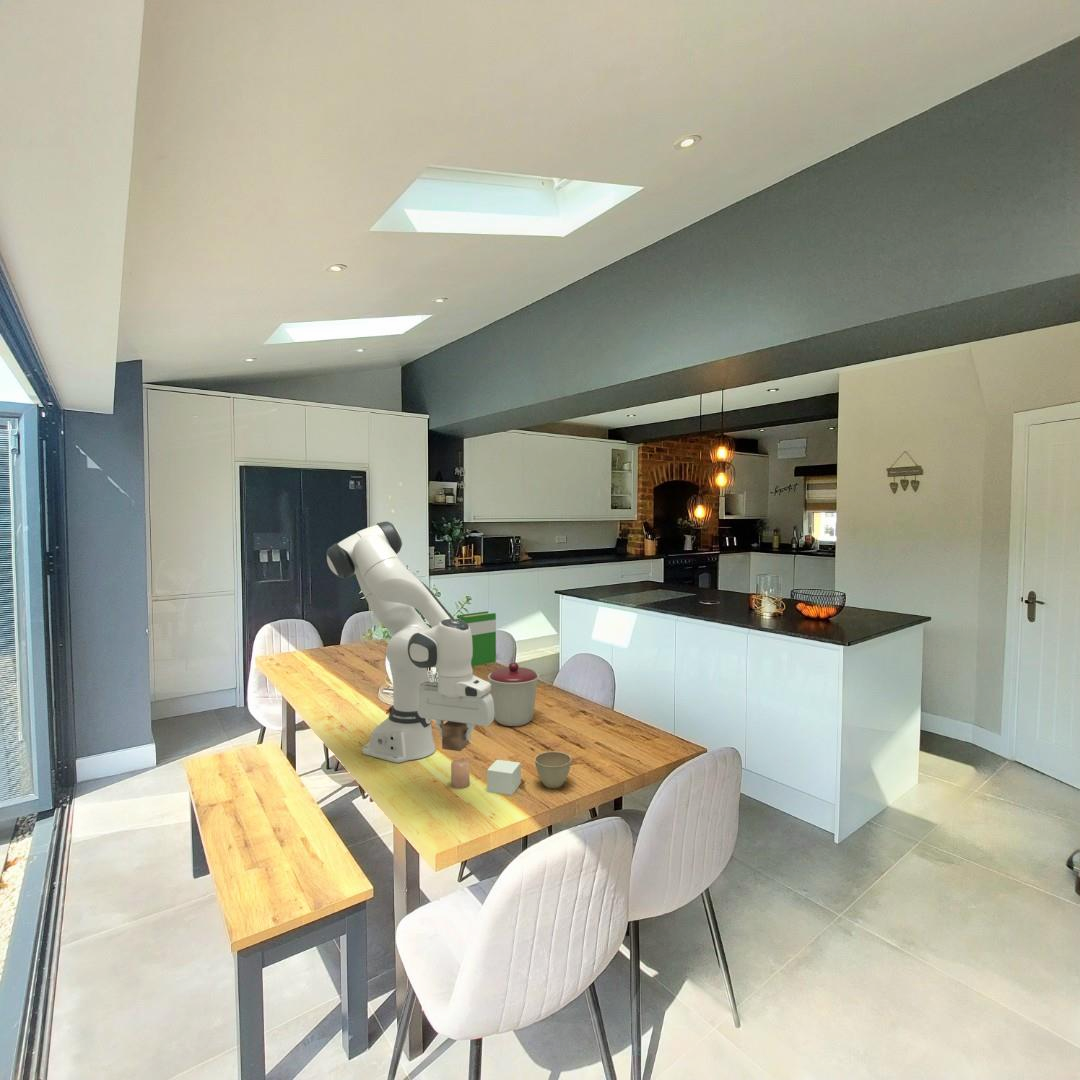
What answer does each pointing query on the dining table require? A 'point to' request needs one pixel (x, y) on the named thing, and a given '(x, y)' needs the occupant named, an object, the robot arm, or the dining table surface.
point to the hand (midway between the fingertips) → (455, 737)
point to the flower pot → (553, 768)
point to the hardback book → (482, 636)
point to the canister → (513, 694)
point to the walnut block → (454, 736)
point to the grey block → (503, 777)
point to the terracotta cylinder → (460, 774)
